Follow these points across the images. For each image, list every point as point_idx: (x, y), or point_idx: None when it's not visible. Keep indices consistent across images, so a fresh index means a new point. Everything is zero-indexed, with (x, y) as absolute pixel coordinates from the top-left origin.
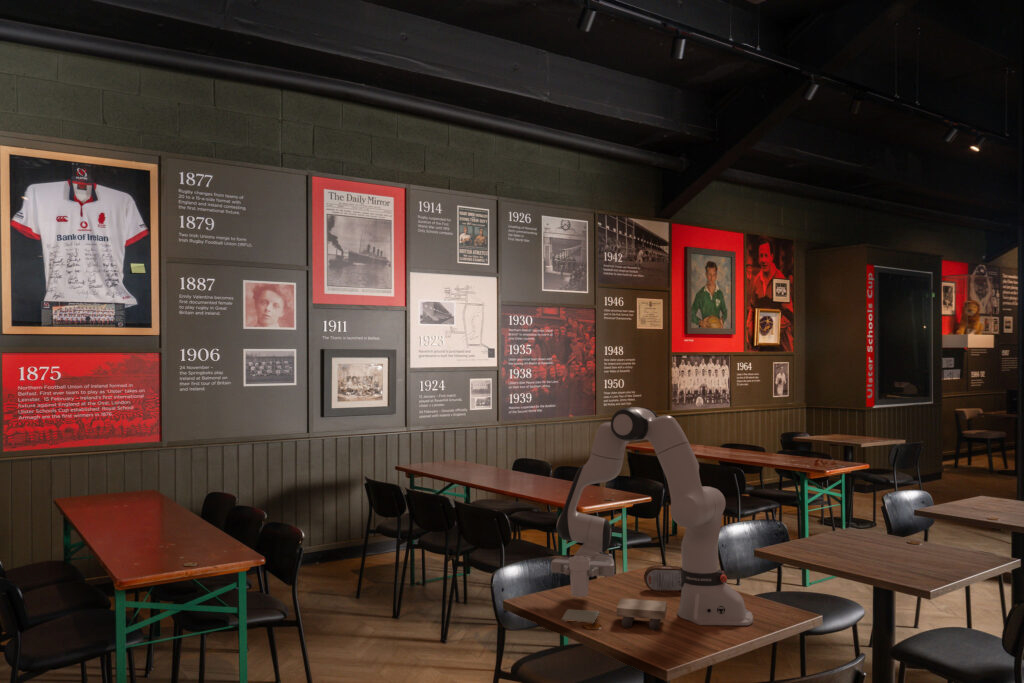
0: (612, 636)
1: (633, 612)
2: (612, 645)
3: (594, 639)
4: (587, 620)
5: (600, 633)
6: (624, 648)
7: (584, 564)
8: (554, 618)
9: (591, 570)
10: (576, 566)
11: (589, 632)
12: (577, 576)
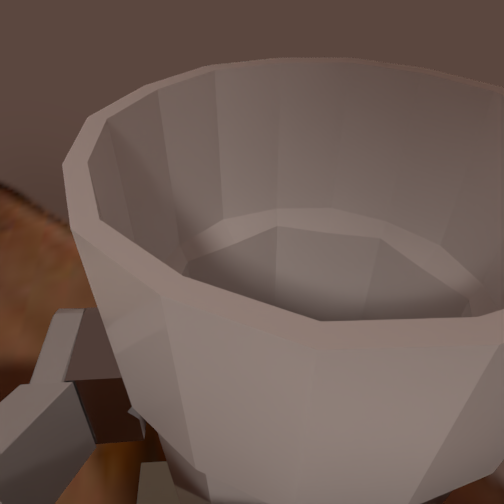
0: (42, 311)
1: None
2: (56, 236)
3: None
4: None
5: None
6: (11, 224)
7: (188, 132)
8: (446, 501)
9: (85, 334)
10: (313, 141)
11: None
12: (295, 275)
